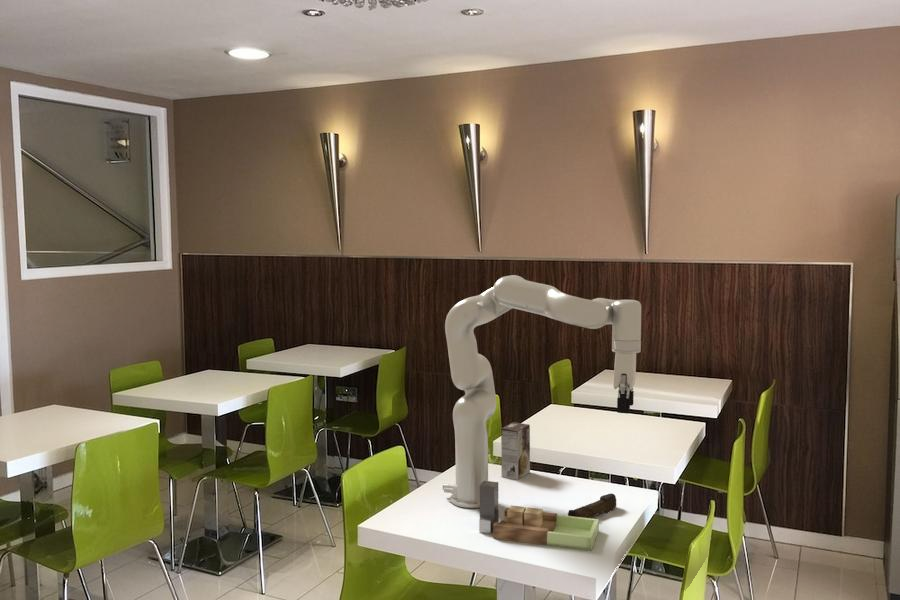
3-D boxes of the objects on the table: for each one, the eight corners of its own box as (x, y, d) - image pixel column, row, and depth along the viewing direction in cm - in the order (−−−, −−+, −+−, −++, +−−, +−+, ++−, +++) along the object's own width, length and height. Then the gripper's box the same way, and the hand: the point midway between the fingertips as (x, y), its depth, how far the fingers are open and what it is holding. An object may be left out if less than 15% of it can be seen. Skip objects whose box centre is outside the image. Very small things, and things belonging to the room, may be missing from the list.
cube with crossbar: (477, 532, 201) (477, 487, 200) (486, 521, 208) (486, 478, 207) (492, 534, 199) (492, 489, 198) (500, 523, 207) (500, 479, 206)
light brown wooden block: (524, 527, 199) (524, 512, 198) (527, 522, 202) (527, 507, 202) (539, 529, 197) (539, 514, 197) (542, 523, 201) (542, 508, 201)
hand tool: (578, 526, 205) (578, 510, 204) (567, 522, 208) (567, 505, 207) (623, 510, 216) (624, 494, 216) (612, 506, 219) (612, 491, 219)
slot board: (493, 538, 197) (493, 524, 196) (506, 520, 209) (506, 507, 209) (547, 545, 192) (547, 531, 192) (557, 526, 204) (557, 513, 204)
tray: (547, 545, 192) (547, 532, 192) (557, 526, 204) (557, 514, 204) (591, 550, 189) (591, 538, 188) (598, 531, 201) (598, 519, 201)
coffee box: (512, 469, 254) (512, 421, 253) (530, 472, 251) (530, 424, 250) (500, 477, 246) (500, 427, 245) (518, 480, 243) (518, 430, 242)
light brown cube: (507, 525, 200) (507, 510, 200) (511, 520, 204) (511, 505, 203) (522, 527, 199) (522, 512, 198) (525, 521, 202) (525, 507, 202)
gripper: (615, 341, 215) (615, 401, 216) (607, 350, 198) (607, 415, 200) (643, 342, 212) (642, 403, 214) (637, 351, 196) (636, 417, 197)
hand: (625, 408), depth 207 cm, fingers open, 9 cm apart
